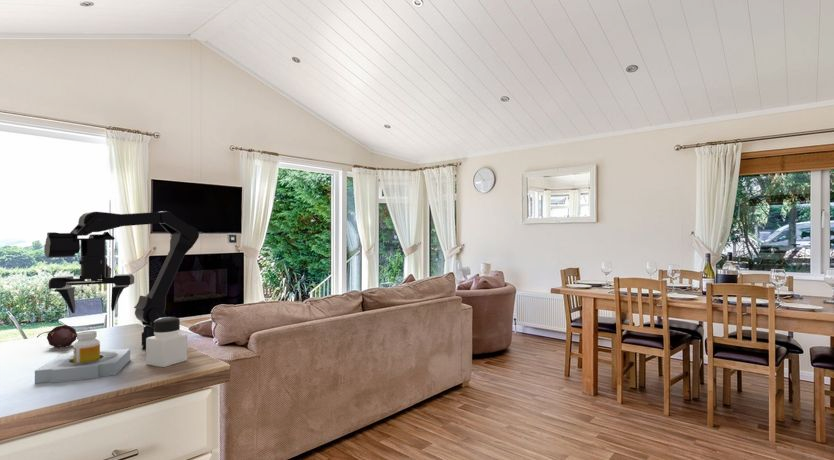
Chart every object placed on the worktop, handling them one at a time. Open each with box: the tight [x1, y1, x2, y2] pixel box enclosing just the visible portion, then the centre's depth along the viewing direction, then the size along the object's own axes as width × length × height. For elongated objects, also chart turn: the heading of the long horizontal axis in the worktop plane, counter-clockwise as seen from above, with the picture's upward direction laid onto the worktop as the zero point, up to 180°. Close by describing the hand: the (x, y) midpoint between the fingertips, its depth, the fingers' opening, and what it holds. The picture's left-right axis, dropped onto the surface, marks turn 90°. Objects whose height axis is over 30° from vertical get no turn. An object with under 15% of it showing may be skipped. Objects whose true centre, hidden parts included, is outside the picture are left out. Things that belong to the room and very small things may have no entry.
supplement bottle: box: [72, 330, 101, 363], centre depth 111 cm, size 5×5×10 cm
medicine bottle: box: [145, 316, 188, 368], centre depth 117 cm, size 7×7×12 cm
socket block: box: [34, 348, 131, 384], centre depth 110 cm, size 16×16×3 cm
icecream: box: [46, 324, 77, 349], centre depth 135 cm, size 7×7×15 cm
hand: (93, 311), depth 122 cm, fingers open, 9 cm apart
